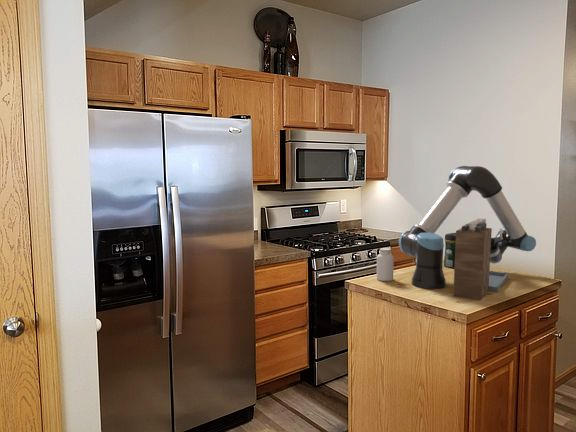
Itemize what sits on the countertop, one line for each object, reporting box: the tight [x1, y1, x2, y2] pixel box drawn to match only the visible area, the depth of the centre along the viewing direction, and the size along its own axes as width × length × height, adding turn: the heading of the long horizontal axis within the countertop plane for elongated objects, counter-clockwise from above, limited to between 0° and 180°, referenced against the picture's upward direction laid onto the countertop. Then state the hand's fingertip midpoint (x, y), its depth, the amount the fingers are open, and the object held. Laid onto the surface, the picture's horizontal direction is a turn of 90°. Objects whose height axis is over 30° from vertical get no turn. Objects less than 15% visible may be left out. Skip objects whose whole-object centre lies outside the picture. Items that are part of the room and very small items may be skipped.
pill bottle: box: [376, 247, 395, 282], centre depth 221 cm, size 8×8×15 cm
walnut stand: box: [452, 222, 493, 301], centre depth 196 cm, size 16×11×30 cm
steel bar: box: [468, 218, 487, 231], centre depth 199 cm, size 20×3×3 cm, turn 146°
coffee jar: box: [443, 232, 456, 269], centre depth 248 cm, size 10×8×19 cm
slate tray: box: [488, 270, 509, 293], centre depth 217 cm, size 31×18×2 cm, turn 146°
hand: (484, 230), depth 211 cm, fingers open, 13 cm apart
